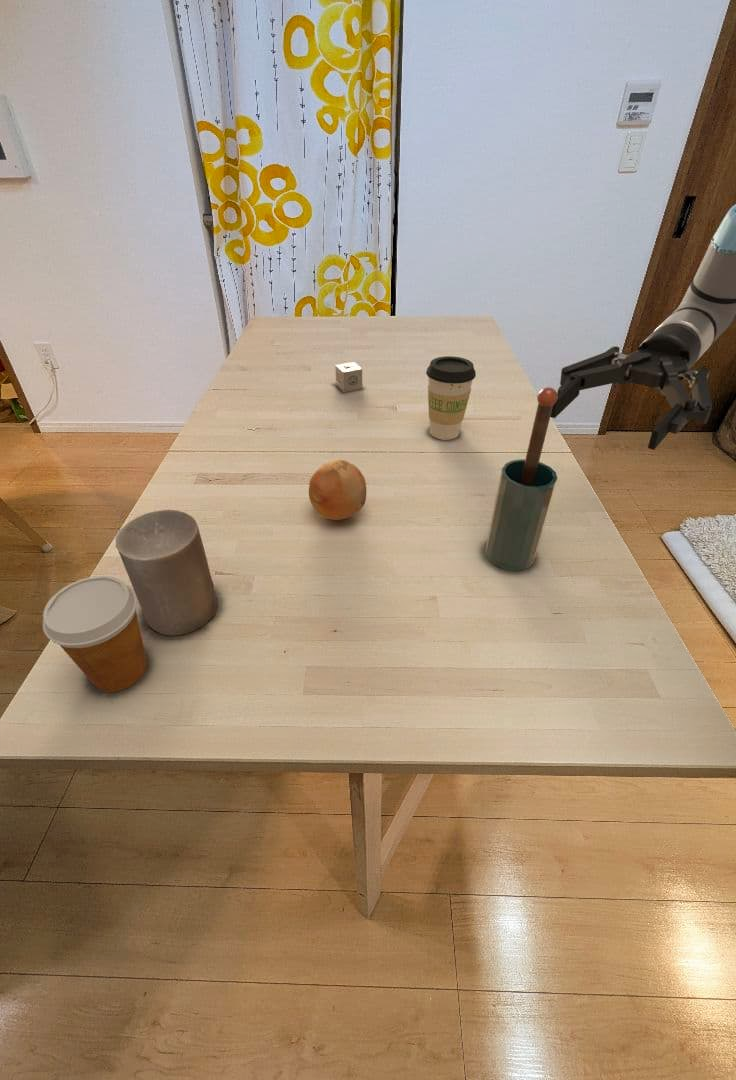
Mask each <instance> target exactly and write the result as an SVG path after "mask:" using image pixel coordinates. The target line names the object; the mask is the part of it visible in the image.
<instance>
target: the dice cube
mask: <svg viewBox="0 0 736 1080" xmlns="http://www.w3.org/2000/svg"><path fill="white" fill-rule="evenodd" d="M334 369H335V385H336V386H337V387H338V388H339V389H340V390H341V392H343V393H345V392H346V393H348V392H352V391H357V390H362V389H363V368H362V367H360V366H359V365H358V364H357V363H356V362H354V361H352V362H346V363H345V362H344V363H340V364H335V368H334ZM336 381H337V382H338V383H339V384H338V383H337V382H336Z"/></svg>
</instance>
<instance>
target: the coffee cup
mask: <svg viewBox="0 0 736 1080" xmlns="http://www.w3.org/2000/svg"><path fill="white" fill-rule="evenodd" d="M425 374H426V376H427V380H428V382H427V383H428V384H427V402H428V403H427V404H428V419H429V435H430V436H432V437H433V438H435V439H438V440H444V441H448V440H449V441H450V440H454V439H456V438H458V436H459V434H460V432H461V431H460V430H461V428H462V427H461V426H462V422H463V421H464V419H465V414H466V411H467V407H468V402H469V399H470V396H471V392H472V384H473V380H474V379H475V378H476V376H477V375H476V370H475V365H474V363H473V362H472V361H471V360H469V359H466V358H464V357H459V356H451V355H449V356H448V355H447V356H438V357H436V358H435V357H434V358H433V359H432V360H431V361H430V362H429V365H428V366H427V368H426V371H425Z"/></svg>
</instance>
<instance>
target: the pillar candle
mask: <svg viewBox="0 0 736 1080" xmlns="http://www.w3.org/2000/svg"><path fill="white" fill-rule="evenodd" d="M114 541H115V548H116V549H117V551H118V554H119V557H120V559H121V561H122V564H123V567H124V569H125V571H126V573H127V576H128V579H129V581H130V584H131V586H132V589H133V591H134V593H135V595H136V598H137V602H138V604H139V606H140V609H141V611H142V613H143V616H144V618H145V621H146V623H147V625H148V626H149V627H150V628H151V629H152V630H153V631H155V632H156V633H158V634H160V635H164V636H170V637H171V636H176V637H177V636H183V635H186V634H190V633H193V632H195V631H197V630H199V629H201V628H202V627H204V626H205V625H206V624H208V622H209V621H210V620H212V618H213V617H214V616H215V615H216V613H217V610H218V607H219V600H218V597H217V595H216V591H215V585H214V581H213V578H212V575H211V572H210V567H209V563H208V558H207V554H206V550H205V547H204V544H203V540H202V535H201V532H200V528H199V525H198V523H197V521H196V519H195V518H194V517H193V516H192V515H191V514H188V513H187V512H185V511H180V510H177V509H160V510H154V511H151V512H147V513H144V514H142V515H139V516H137V517H135V518H133V519H132V520H130V521H128V522H127V523H126V524H125V525H124V526H123V527H121V528H120V529H119V530H118V532H117V534H116V535H115V540H114Z"/></svg>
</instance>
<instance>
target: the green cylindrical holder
mask: <svg viewBox="0 0 736 1080" xmlns="http://www.w3.org/2000/svg"><path fill="white" fill-rule="evenodd" d="M525 459H526V458H525ZM525 459H524V458H523V459H522V458H521V459H520V458H519V459H513V460H510V461H508V462H506V463H504V464H503V466H502V467H501V469H500V474H499V479H498V485H497V490H496V494H495V500H494V504H493V509H492V514H491V520H490V525H489V530H488V535H487V539H486V546H485V557H486V558H487V560H488V561H489V562H490V563H491V564H492V565H493V566H495V567H497V568H499V569H501V570H504V571H510V572H520V571H525V570H527V569H529V568H530V567H531V566H532V565H533V564H534V562H535V559H536V556H537V553H538V548H539V545H540V543H541V538H542V533H543V531H544V527H545V524H546V520H547V517H548V514H549V510H550V507H551V502H552V500H553V496H554V493H555V489H556V486H557V482H558V475H557V472H556V471H555V470H554V469H553V468H552V467H551V466H549V465H547V464H546V463H544V462H541V461H539V464H538V468H537V472H536V476H535V480H534V484H533V486H526V485H522V484H520V481H521V477H522V472H523V468H524V464H525Z"/></svg>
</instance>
